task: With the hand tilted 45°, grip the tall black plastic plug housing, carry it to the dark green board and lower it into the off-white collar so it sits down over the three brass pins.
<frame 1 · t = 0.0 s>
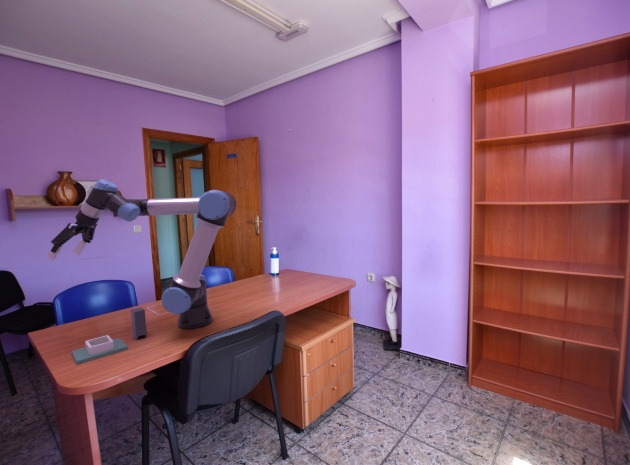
hand: (63, 255, 132), 36 cm above the table, tool tilted 35°, fingers open, 13 cm apart
plug housing: (140, 337, 134), on the table
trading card: (162, 309, 173), on the table
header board: (100, 351, 122), on the table
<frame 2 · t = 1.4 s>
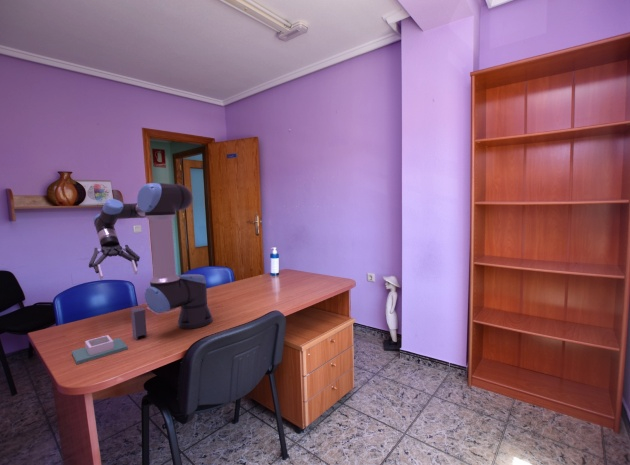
hand: (119, 275, 143), 25 cm above the table, tool tilted 45°, fingers open, 13 cm apart
nothing on the table moved.
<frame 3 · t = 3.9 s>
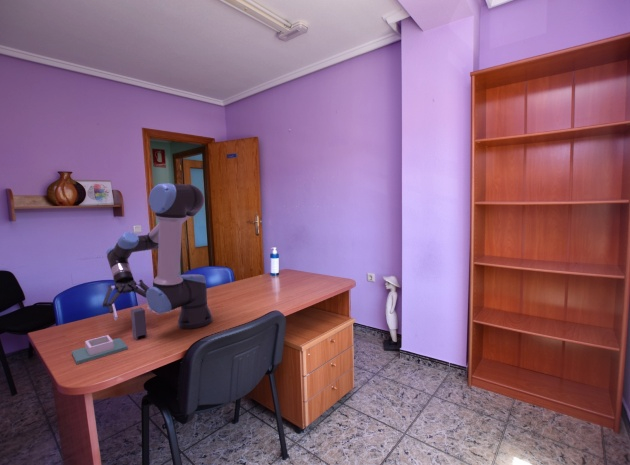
hand: (134, 314, 136), 9 cm above the table, tool tilted 45°, fingers open, 13 cm apart
nothing on the table moved.
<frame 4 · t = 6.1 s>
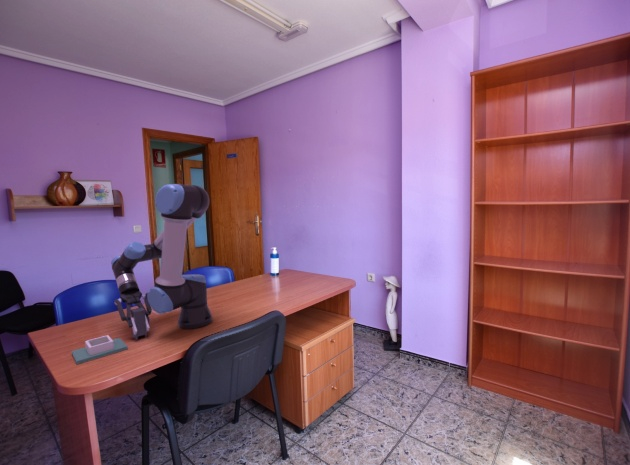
hand: (142, 331, 131), 4 cm above the table, tool tilted 45°, fingers closed on plug housing, 4 cm apart
plug housing: (140, 337, 134), on the table, touching gripper
everything else where it was.
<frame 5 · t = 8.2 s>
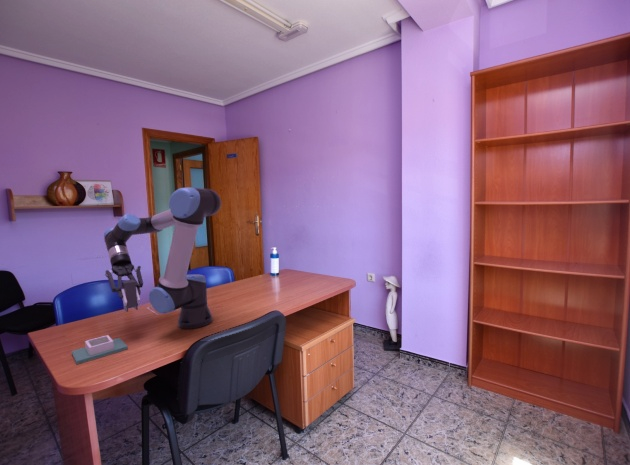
hand: (132, 302, 129), 16 cm above the table, tool tilted 45°, fingers closed on plug housing, 4 cm apart
plug housing: (130, 309, 132), point 13 cm above the table, touching gripper
everything else where it was.
when the fingers open (6 cm above the table, at t = 10.6 s): plug housing drops 1 cm, resting on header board.
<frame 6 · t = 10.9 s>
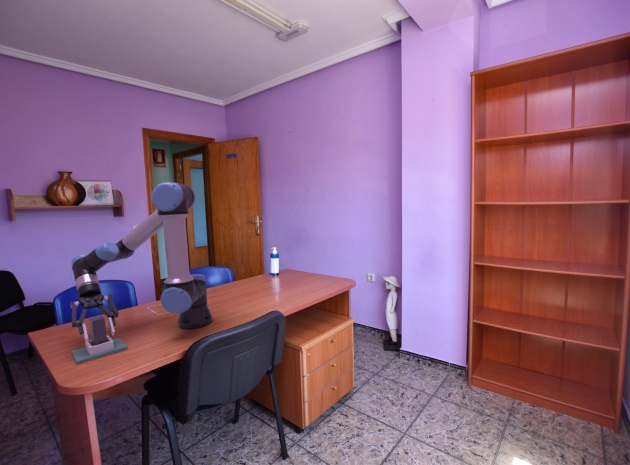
hand: (100, 336, 119), 7 cm above the table, tool tilted 45°, fingers open, 8 cm apart
plug housing: (100, 348, 122), point 1 cm above the table, touching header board
everything else where it was.
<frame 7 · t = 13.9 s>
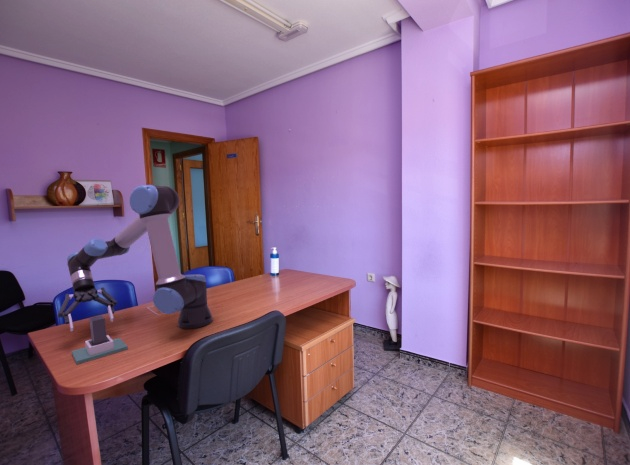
hand: (92, 324, 129), 8 cm above the table, tool tilted 45°, fingers open, 13 cm apart
nothing on the table moved.
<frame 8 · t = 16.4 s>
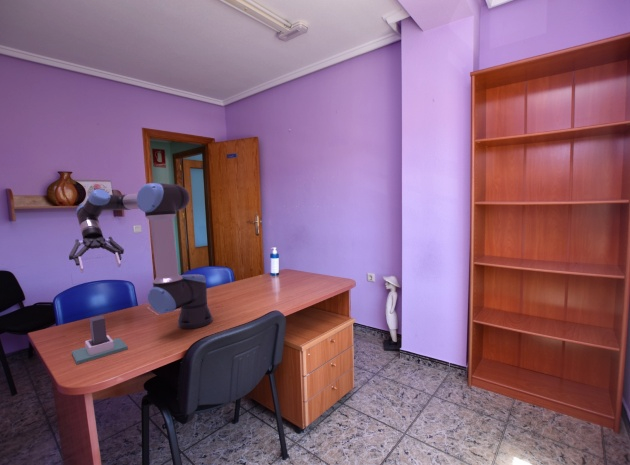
hand: (101, 267, 136), 30 cm above the table, tool tilted 45°, fingers open, 13 cm apart
nothing on the table moved.
at the end: plug housing 0.1 cm off-centre on the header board, point 1.2 cm above the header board's base; plug housing tilted 0°; the gripper is holding nothing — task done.
